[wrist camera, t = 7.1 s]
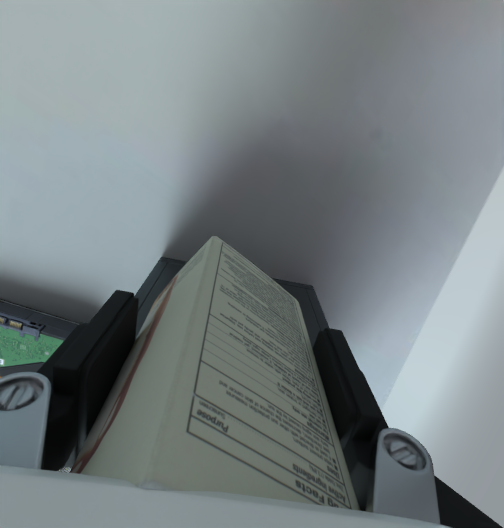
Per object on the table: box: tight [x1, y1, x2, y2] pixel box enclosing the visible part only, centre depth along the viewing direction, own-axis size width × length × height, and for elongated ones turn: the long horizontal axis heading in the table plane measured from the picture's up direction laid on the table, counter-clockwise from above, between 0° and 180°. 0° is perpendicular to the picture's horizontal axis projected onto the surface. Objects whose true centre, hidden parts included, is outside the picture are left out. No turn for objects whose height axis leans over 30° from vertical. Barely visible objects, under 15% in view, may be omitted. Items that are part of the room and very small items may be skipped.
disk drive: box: [0, 300, 79, 378], centre depth 31 cm, size 10×3×15 cm
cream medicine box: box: [70, 236, 361, 511], centre depth 10 cm, size 5×4×10 cm
